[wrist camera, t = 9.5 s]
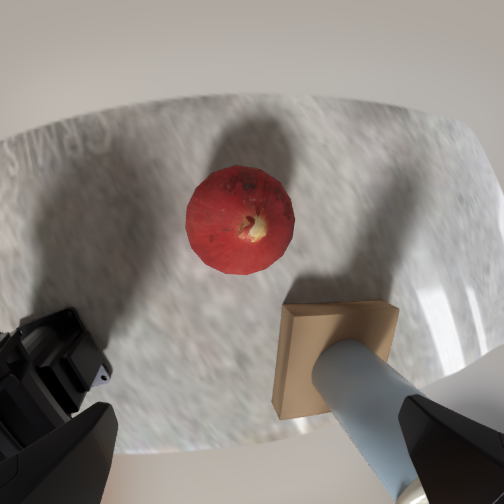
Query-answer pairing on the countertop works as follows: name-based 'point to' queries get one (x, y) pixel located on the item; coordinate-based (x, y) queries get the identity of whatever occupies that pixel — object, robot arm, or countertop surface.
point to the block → (323, 347)
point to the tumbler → (370, 412)
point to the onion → (239, 220)
